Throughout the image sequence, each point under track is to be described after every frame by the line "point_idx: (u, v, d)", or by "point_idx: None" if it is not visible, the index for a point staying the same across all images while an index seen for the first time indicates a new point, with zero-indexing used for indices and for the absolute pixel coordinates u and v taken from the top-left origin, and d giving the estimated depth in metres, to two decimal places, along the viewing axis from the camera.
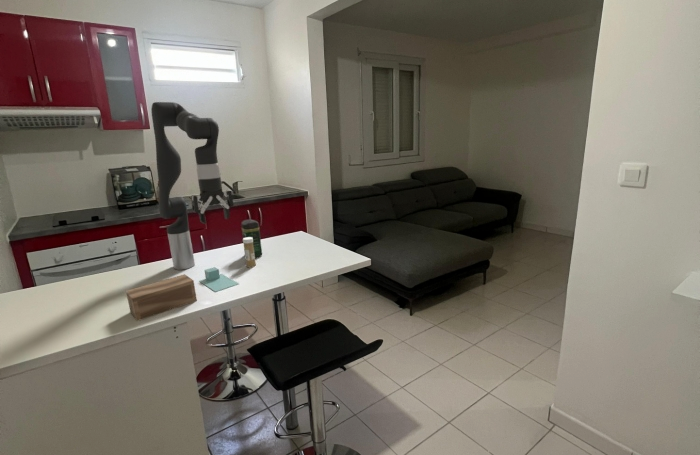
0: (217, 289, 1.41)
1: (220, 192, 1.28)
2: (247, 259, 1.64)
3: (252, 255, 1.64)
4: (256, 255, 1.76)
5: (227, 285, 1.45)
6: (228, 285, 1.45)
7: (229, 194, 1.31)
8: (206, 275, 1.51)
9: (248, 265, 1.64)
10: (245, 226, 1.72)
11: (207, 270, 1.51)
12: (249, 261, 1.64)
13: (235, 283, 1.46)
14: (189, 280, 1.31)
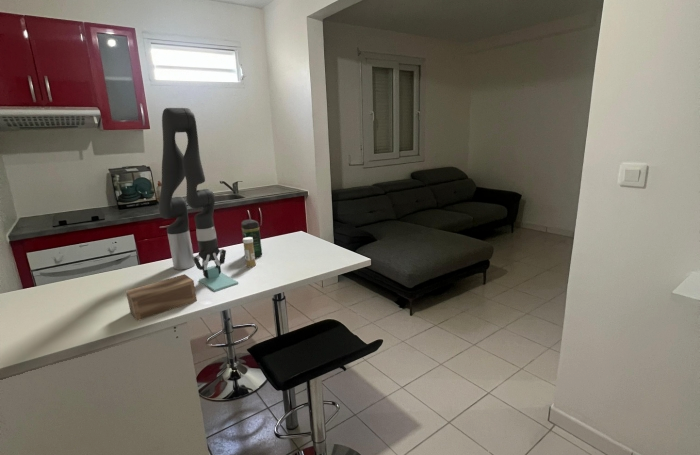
0: (216, 287, 1.42)
1: (217, 249, 1.51)
2: (247, 259, 1.64)
3: (252, 255, 1.64)
4: (256, 255, 1.76)
5: (226, 283, 1.45)
6: (227, 283, 1.45)
7: (223, 253, 1.53)
8: None
9: (248, 265, 1.64)
10: (245, 226, 1.72)
11: None
12: (249, 261, 1.64)
13: (234, 281, 1.47)
14: (189, 280, 1.31)
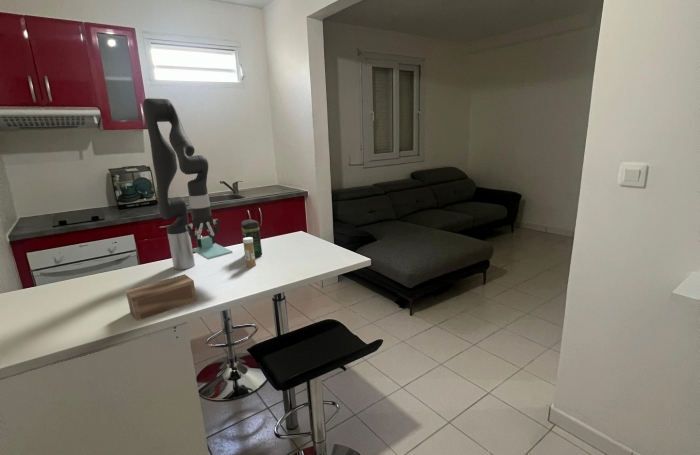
0: (210, 256, 1.38)
1: (210, 218, 1.47)
2: (247, 259, 1.64)
3: (252, 255, 1.64)
4: (256, 255, 1.76)
5: (220, 252, 1.41)
6: (221, 252, 1.41)
7: (217, 222, 1.49)
8: None
9: (248, 265, 1.64)
10: (245, 226, 1.72)
11: (200, 238, 1.48)
12: (249, 261, 1.64)
13: (228, 251, 1.43)
14: (189, 280, 1.31)
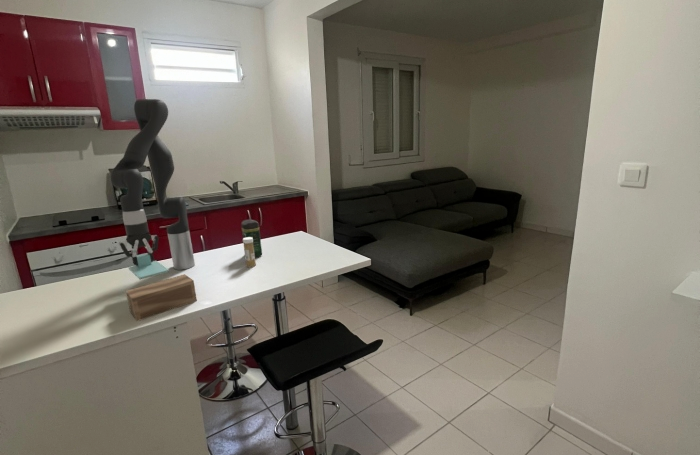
0: (142, 275, 1.29)
1: (148, 235, 1.39)
2: (247, 259, 1.64)
3: (252, 255, 1.64)
4: (256, 255, 1.76)
5: (155, 271, 1.33)
6: (156, 271, 1.33)
7: (156, 239, 1.41)
8: None
9: (248, 265, 1.64)
10: (245, 226, 1.72)
11: (137, 256, 1.39)
12: (249, 261, 1.64)
13: (165, 269, 1.34)
14: (189, 280, 1.31)
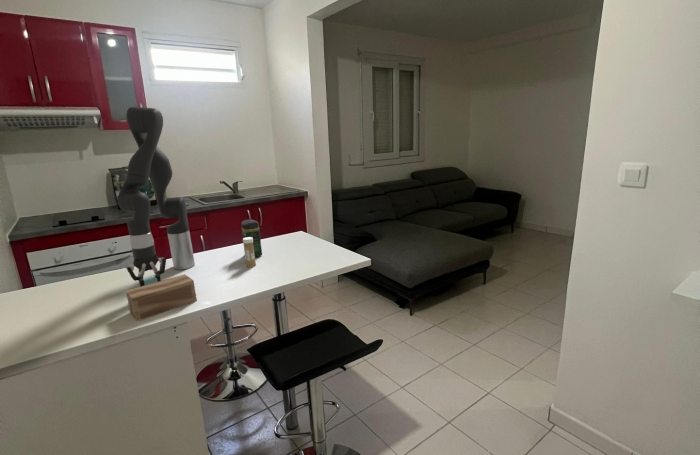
0: None
1: (155, 258, 1.36)
2: (247, 259, 1.64)
3: (252, 255, 1.64)
4: (256, 255, 1.76)
5: None
6: None
7: (163, 261, 1.39)
8: None
9: (248, 265, 1.64)
10: (245, 226, 1.72)
11: (144, 279, 1.37)
12: (249, 261, 1.64)
13: None
14: (189, 280, 1.31)
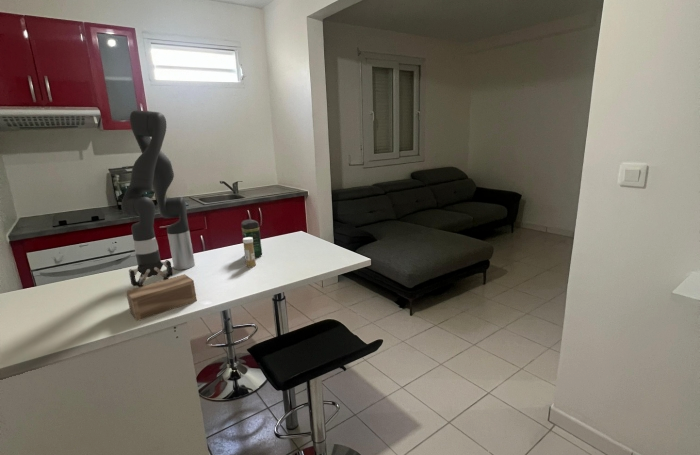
0: None
1: (159, 263, 1.34)
2: (247, 259, 1.64)
3: (252, 255, 1.64)
4: (256, 255, 1.76)
5: None
6: None
7: (168, 264, 1.36)
8: None
9: (248, 265, 1.64)
10: (245, 226, 1.72)
11: None
12: (249, 261, 1.64)
13: None
14: (189, 280, 1.31)
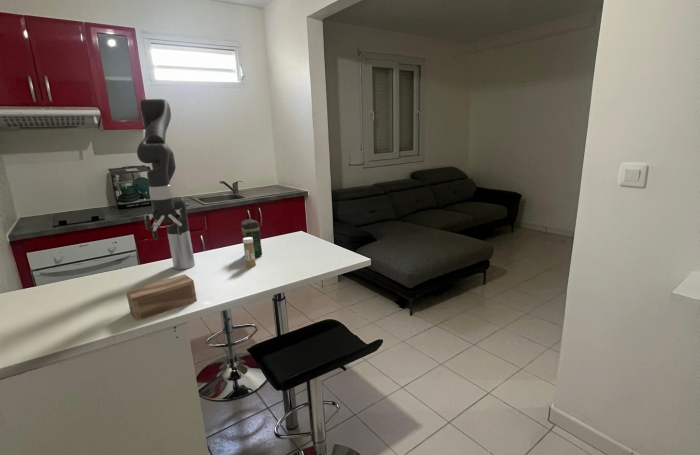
0: None
1: (172, 211, 1.39)
2: (247, 259, 1.64)
3: (252, 255, 1.64)
4: (256, 255, 1.76)
5: None
6: None
7: (182, 212, 1.41)
8: None
9: (248, 265, 1.64)
10: (245, 226, 1.72)
11: None
12: (249, 261, 1.64)
13: None
14: (189, 280, 1.31)
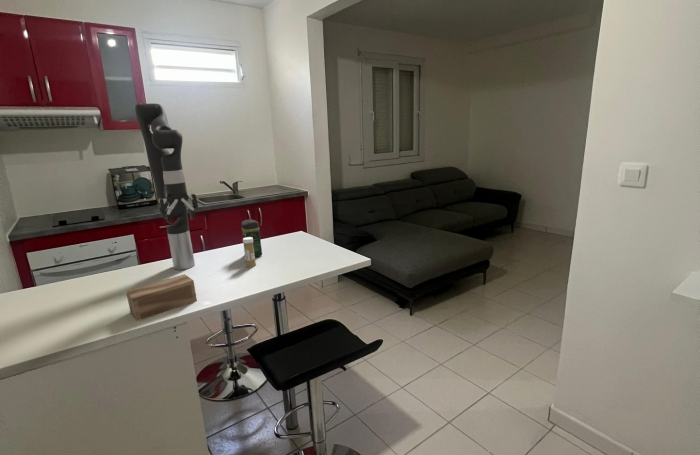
0: None
1: (185, 195, 1.44)
2: (247, 259, 1.64)
3: (252, 255, 1.64)
4: (256, 255, 1.76)
5: None
6: None
7: (194, 197, 1.46)
8: None
9: (248, 265, 1.64)
10: (245, 226, 1.72)
11: None
12: (249, 261, 1.64)
13: None
14: (189, 280, 1.31)
